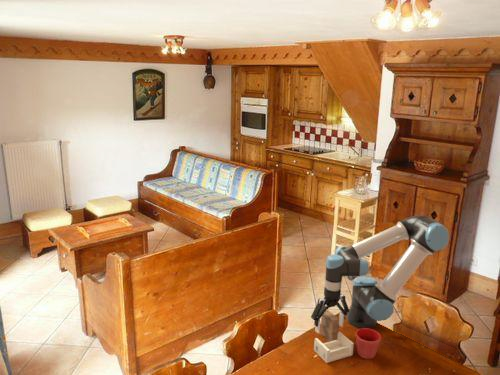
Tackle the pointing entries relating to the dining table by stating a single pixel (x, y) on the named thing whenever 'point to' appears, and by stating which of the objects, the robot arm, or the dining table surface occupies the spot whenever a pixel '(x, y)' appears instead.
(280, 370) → the dining table surface
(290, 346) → the dining table surface
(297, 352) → the dining table surface
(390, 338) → the dining table surface
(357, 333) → the flower pot
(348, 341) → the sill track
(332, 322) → the walnut panel
